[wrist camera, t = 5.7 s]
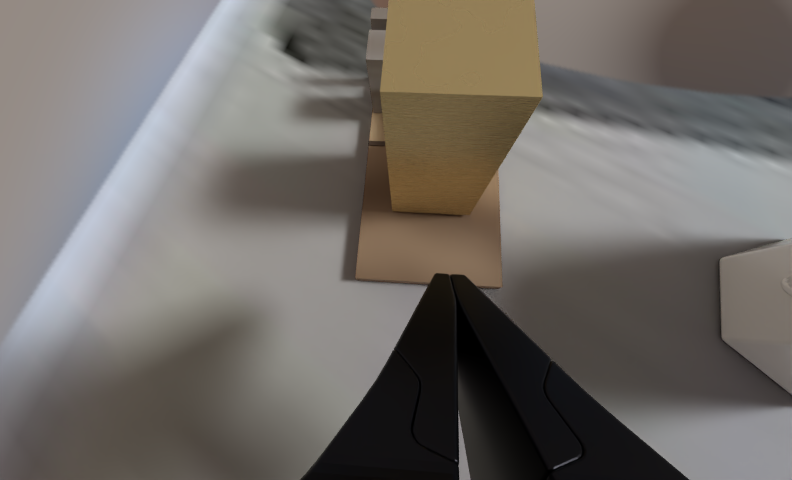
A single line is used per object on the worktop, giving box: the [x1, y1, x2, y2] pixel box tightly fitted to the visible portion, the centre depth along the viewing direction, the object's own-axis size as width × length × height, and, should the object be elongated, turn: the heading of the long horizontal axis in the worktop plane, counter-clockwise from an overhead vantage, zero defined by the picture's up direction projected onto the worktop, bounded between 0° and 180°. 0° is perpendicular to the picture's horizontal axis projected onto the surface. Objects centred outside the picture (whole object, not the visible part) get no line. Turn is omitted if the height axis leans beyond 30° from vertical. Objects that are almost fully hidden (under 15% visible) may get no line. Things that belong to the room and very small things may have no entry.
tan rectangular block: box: [380, 0, 543, 215], centre depth 13 cm, size 9×4×9 cm, turn 176°
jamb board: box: [355, 8, 502, 289], centre depth 16 cm, size 14×8×5 cm, turn 176°
